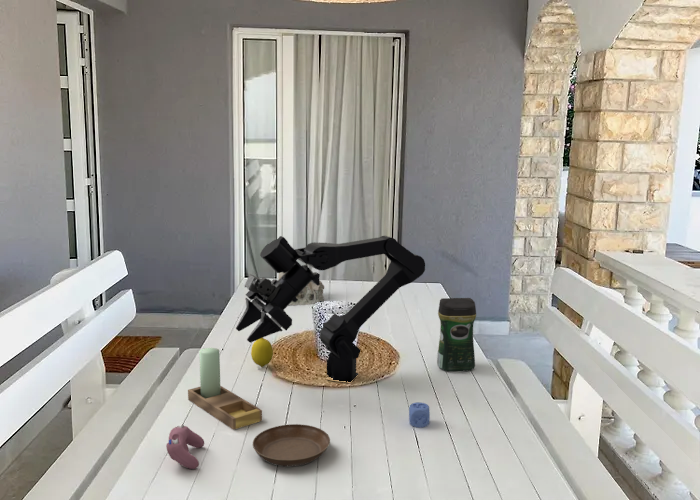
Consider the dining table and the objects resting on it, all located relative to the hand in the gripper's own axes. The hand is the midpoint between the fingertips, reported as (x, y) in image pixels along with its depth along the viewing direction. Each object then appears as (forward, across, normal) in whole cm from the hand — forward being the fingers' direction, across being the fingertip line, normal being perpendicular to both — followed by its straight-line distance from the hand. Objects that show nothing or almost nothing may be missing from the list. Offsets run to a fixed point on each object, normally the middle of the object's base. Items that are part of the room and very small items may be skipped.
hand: (242, 335), depth 157 cm
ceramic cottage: (-20, -74, +38) cm, 86 cm away
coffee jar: (-31, +5, +48) cm, 57 cm away
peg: (+16, +1, +5) cm, 16 cm away
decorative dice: (-12, +30, +30) cm, 45 cm away
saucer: (+10, +32, +11) cm, 35 cm away
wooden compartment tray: (+14, +7, +6) cm, 17 cm away
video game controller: (+24, +26, -2) cm, 35 cm away
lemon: (+3, -15, +17) cm, 23 cm away
